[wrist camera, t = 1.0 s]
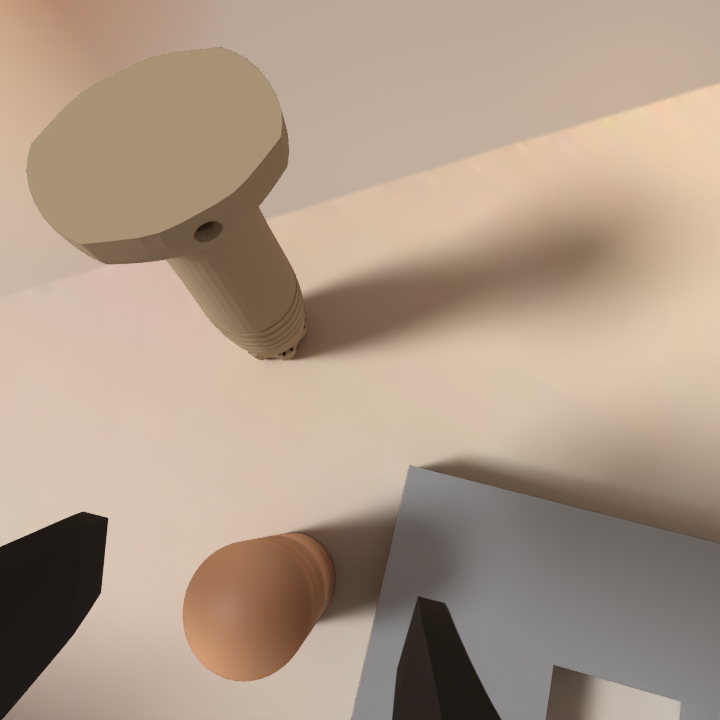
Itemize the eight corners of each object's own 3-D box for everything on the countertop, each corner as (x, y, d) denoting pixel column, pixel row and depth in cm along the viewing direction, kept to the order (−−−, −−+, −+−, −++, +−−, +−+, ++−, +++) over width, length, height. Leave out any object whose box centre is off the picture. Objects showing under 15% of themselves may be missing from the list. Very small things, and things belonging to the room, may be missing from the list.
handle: (355, 340, 27) (315, 150, 13) (243, 406, 27) (72, 281, 12) (308, 266, 29) (225, 17, 14) (200, 327, 28) (0, 131, 14)
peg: (322, 638, 24) (289, 698, 16) (236, 613, 24) (164, 659, 17) (345, 545, 25) (325, 559, 17) (262, 522, 25) (206, 526, 18)
